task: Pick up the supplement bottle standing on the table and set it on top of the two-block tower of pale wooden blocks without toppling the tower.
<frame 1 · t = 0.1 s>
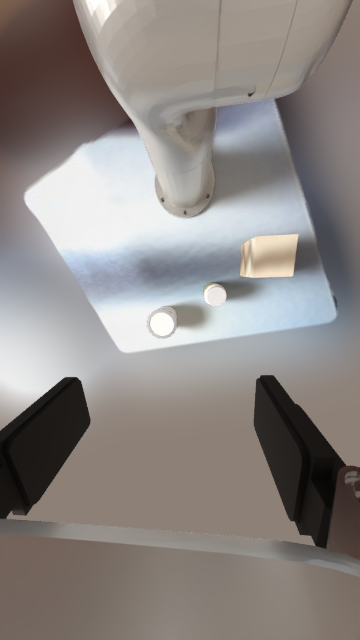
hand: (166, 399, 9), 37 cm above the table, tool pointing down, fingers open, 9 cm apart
white cup: (166, 316, 46), on the table
bottom block: (256, 259, 41), on the table, touching top block
supplement bottle: (212, 291, 44), on the table
top block: (264, 258, 36), point 5 cm above the table, touching bottom block
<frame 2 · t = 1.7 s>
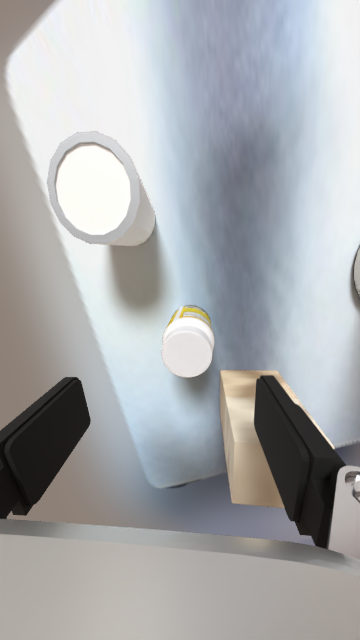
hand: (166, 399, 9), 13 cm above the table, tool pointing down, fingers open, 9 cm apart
white cup: (130, 218, 19), on the table
bottom block: (246, 393, 24), on the table, touching top block
supplement bottle: (190, 322, 22), on the table
top block: (258, 424, 19), point 5 cm above the table, touching bottom block
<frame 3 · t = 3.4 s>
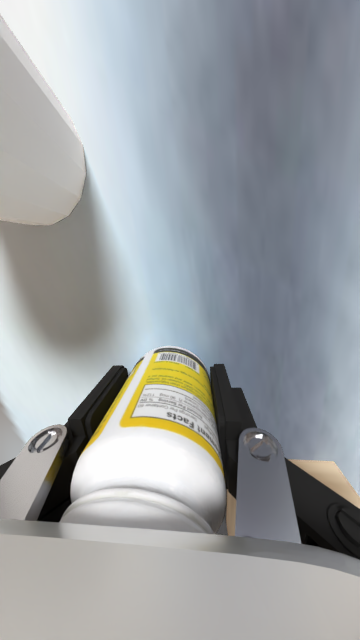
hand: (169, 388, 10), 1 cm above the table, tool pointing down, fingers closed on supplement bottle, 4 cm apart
white cup: (33, 164, 9), on the table
bottom block: (274, 492, 13), on the table, touching top block
supplement bottle: (172, 376, 11), on the table, touching gripper
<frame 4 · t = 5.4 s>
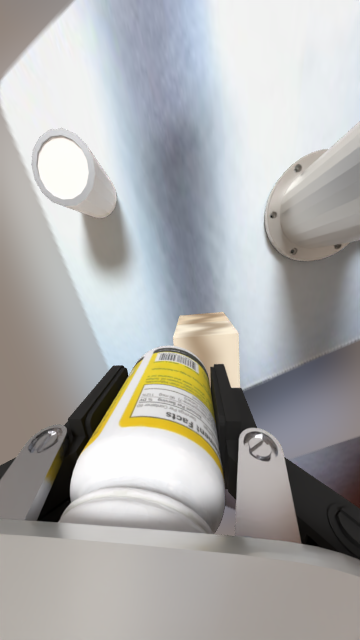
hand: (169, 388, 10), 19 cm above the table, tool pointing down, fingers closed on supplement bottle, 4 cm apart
white cup: (98, 196, 25), on the table
bottom block: (202, 334, 29), on the table, touching top block
supplement bottle: (171, 376, 11), point 18 cm above the table, touching gripper
top block: (204, 346, 25), point 5 cm above the table, touching bottom block
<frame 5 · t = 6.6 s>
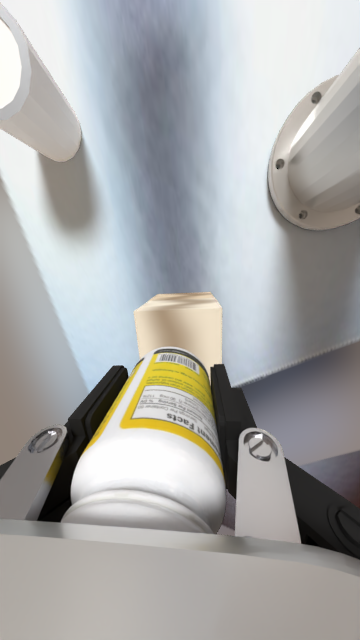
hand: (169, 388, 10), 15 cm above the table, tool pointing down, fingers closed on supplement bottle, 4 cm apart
white cup: (58, 132, 20), on the table
bottom block: (185, 318, 24), on the table, touching top block
supplement bottle: (172, 377, 11), point 13 cm above the table, touching gripper
top block: (183, 330, 20), point 5 cm above the table, touching bottom block
when the fingers open (12 cm above the table, at t = 7.5 s): supplement bottle stays where it is, resting on top block.
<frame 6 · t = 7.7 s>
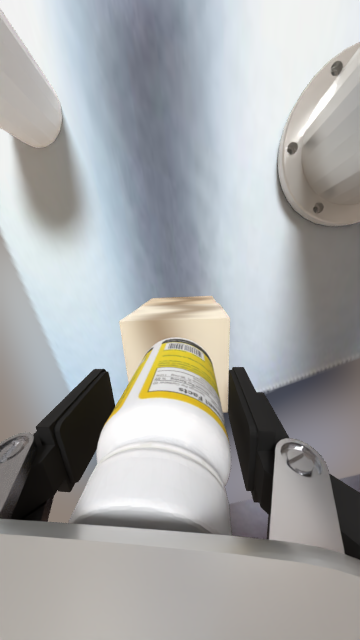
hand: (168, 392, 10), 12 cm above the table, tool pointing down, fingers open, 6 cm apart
white cup: (35, 113, 17), on the table
bottom block: (183, 325, 22), on the table, touching top block
supplement bottle: (178, 366, 12), point 10 cm above the table, touching top block
top block: (181, 340, 17), point 5 cm above the table, touching supplement bottle, bottom block
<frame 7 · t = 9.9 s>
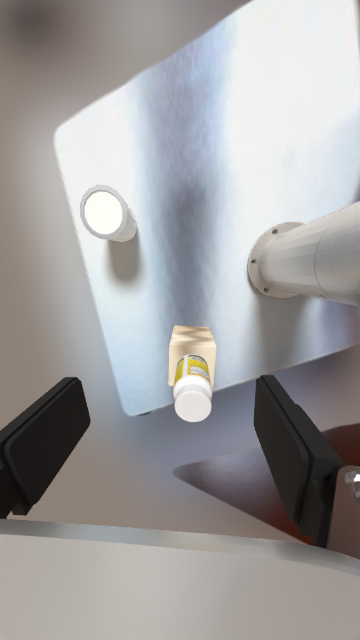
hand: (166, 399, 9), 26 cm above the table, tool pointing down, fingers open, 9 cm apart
white cup: (122, 225, 32), on the table
bottom block: (191, 342, 37), on the table, touching top block
supplement bottle: (192, 366, 27), point 10 cm above the table, touching top block
top block: (191, 352, 32), point 5 cm above the table, touching supplement bottle, bottom block
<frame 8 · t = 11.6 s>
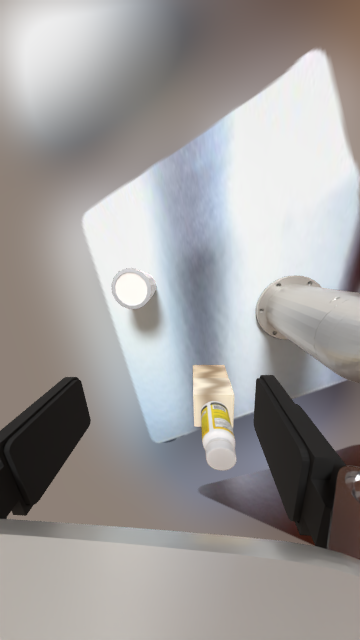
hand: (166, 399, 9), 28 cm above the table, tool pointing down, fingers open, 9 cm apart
white cup: (143, 285, 36), on the table
bottom block: (208, 378, 41), on the table, touching top block
supplement bottle: (214, 410, 32), point 10 cm above the table, touching top block
top block: (211, 392, 36), point 5 cm above the table, touching supplement bottle, bottom block
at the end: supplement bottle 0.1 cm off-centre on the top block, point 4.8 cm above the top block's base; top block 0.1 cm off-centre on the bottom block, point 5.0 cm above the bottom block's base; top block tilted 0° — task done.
